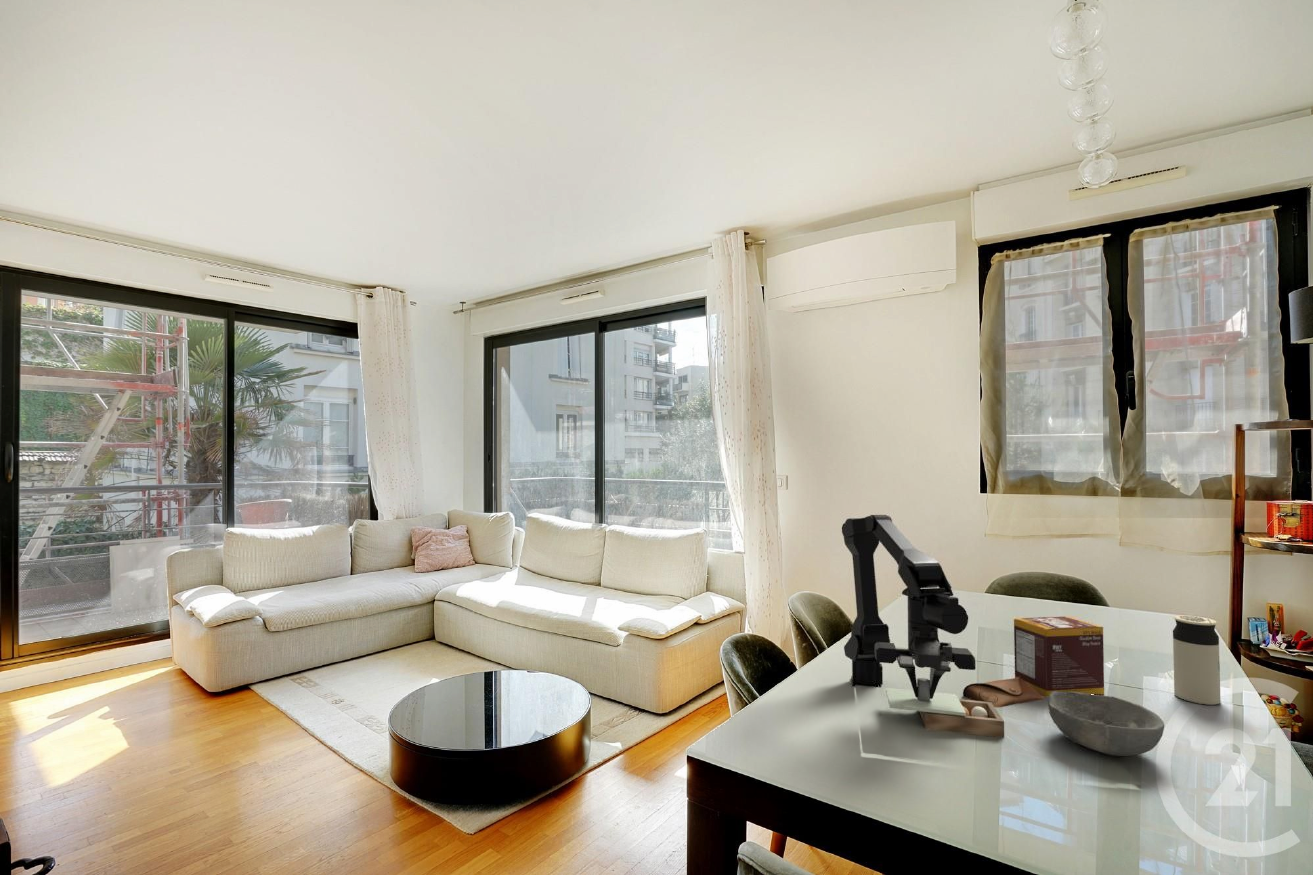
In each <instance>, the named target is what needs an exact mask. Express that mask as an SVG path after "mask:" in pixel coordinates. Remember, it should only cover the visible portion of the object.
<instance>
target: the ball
mask: <svg viewBox="0 0 1313 875" xmlns="http://www.w3.org/2000/svg"><path fill="white" fill-rule="evenodd" d="M971 715H972V716H975V717H984V718H988V714H987V712H986V710H985V709H984V708H982V707H974V708H973V709H972V711H971Z"/></svg>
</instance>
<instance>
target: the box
mask: <svg viewBox="0 0 1313 875" xmlns="http://www.w3.org/2000/svg"><path fill="white" fill-rule="evenodd" d="M958 699H959V701H960V703H961V704H962V706H964V707H965V708H966V709H967V710H968V712H969V716H962V715H952V714H943V713H933V712H923V711H919V714H920V716H921V720H922V721H923V724H924V727H925V728H924V729H925V730H934V731H941V732H951V733H959V734H960V733H961V734H970V735H977V736H986V737H996V738H1005V721H1004V719H1003V717H1002V716H1001V715H1000V713H999V712H998V710H997V708H996V707H994V706H993V704H992V703H991V702H983V701H974V700H972V699H960V698H958ZM974 707H982V708H984V709H985V710H986V712H987V714H988V718H984V717H975V716H972V715H971V711H972V709H973V708H974Z"/></svg>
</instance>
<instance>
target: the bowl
mask: <svg viewBox="0 0 1313 875" xmlns="http://www.w3.org/2000/svg"><path fill="white" fill-rule="evenodd" d="M1047 707H1048V711H1049V712H1048V713H1049V716H1050V718H1051V719H1052V720H1051V721H1053V724H1055V726H1056V727H1057V729H1058V730H1059V731H1061V733H1062V734H1064V735H1065V736H1066V738H1068V739H1069V740H1071V741H1072V742H1073V743H1076V744H1078V745H1081V746H1084V747H1085V748H1087V749H1090V750H1093V751H1096V752H1099V753H1102V754H1105V755H1109V756H1116V757H1117V756H1118V757H1132V756H1133V757H1134V756H1137V755H1141V754H1145V753H1148V752H1150V751H1151V750H1153V749H1154V748H1156V746H1157V745H1158V744H1159V742H1160V741H1161V739H1162V737H1163V734H1164V729H1165V722H1164V721H1163V719H1162V718H1161V716H1159V715H1158V714H1157V713H1155V712H1154V711H1152V710H1150V709H1148V708H1146V707H1144V706H1142V705H1141V704H1137V703H1133V702H1132V701H1128V700H1125V699H1122V698H1120V697H1116V696H1113V695H1111V696H1109V695H1091V694H1085V693H1078V692H1062V691H1059V692H1058V691H1054V692H1052V693H1051V694H1050V695H1049V697H1048V696H1047Z"/></svg>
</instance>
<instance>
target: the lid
mask: <svg viewBox="0 0 1313 875" xmlns="http://www.w3.org/2000/svg"><path fill="white" fill-rule="evenodd" d="M916 681H917V688H918V698H916V697H915V694H914V691H913V689H901V688H891V687H885V693H886V698H887V703H888V706H889V708H890V709H893V710H896V709H897V710H906V711H915V712H920V711H923V712H933V713H943V714H952V715H962V716H966V712H965V710H964V708H963V706H962V704H961V703H960V701H959V699H960V698H958V696H957V694H954V693H953V694H952V693H945V692H943V693H942V692H935V693H934V696H933V698H932V699H930V678H929V679H928V678H924V677H919V678H916Z"/></svg>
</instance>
